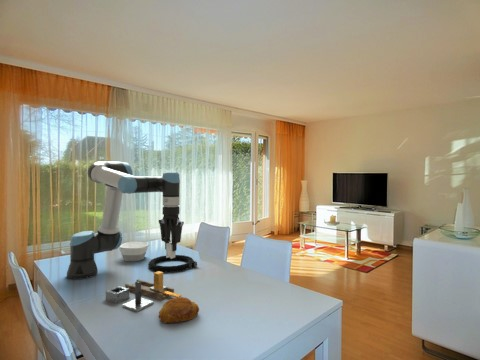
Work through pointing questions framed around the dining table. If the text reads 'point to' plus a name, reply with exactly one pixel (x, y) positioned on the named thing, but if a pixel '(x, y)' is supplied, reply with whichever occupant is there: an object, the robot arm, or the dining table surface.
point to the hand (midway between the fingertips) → (170, 257)
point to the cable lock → (182, 267)
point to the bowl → (133, 250)
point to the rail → (146, 290)
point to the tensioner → (161, 285)
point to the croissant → (178, 310)
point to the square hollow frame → (117, 294)
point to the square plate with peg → (138, 300)
